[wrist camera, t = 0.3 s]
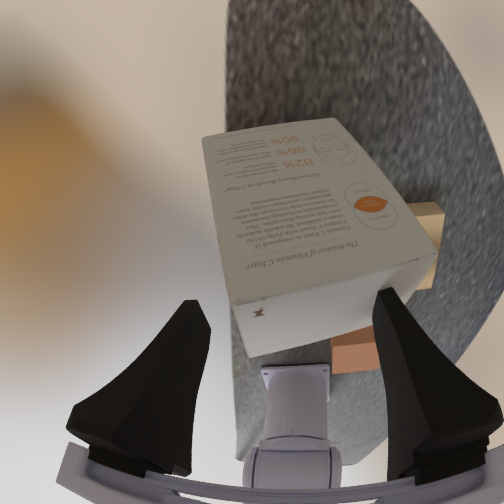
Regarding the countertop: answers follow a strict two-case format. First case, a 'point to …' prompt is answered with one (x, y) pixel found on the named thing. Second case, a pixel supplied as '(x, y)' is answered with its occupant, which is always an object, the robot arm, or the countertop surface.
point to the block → (354, 351)
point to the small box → (308, 232)
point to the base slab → (429, 232)
